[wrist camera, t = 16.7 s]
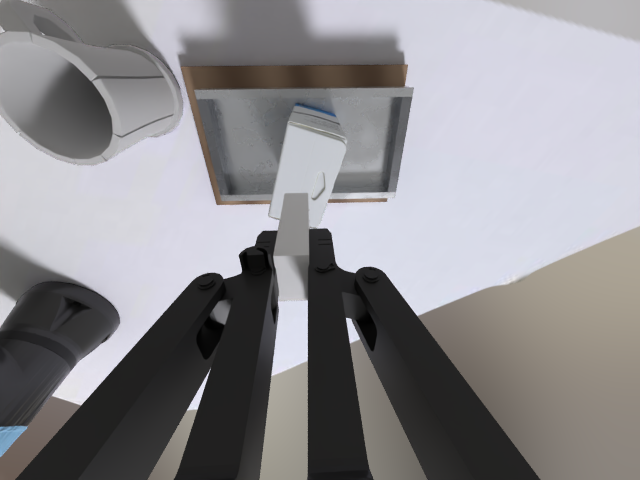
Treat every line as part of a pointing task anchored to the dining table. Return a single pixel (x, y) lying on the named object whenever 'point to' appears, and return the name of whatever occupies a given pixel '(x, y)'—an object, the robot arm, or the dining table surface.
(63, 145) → the cup
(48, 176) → the dining table surface
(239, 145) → the metal serving tray
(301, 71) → the panel
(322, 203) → the ink box
